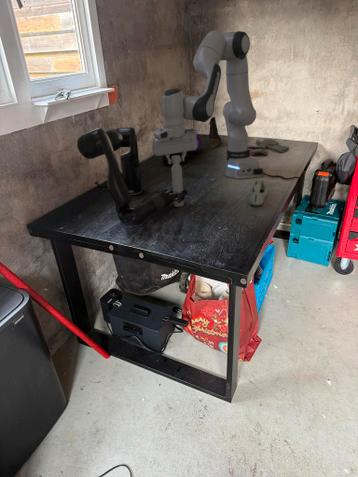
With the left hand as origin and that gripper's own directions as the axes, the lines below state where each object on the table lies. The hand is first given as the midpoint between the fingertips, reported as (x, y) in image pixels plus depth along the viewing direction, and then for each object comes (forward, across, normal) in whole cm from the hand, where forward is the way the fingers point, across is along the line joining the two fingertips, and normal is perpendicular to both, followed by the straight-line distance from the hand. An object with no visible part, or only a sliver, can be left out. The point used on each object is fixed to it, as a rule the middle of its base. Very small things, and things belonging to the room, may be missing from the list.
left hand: (181, 190), depth 156 cm
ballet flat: (+24, -28, +6) cm, 38 cm away
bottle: (-3, 0, +6) cm, 7 cm away
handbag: (+50, +43, +6) cm, 66 cm away
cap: (-3, 0, -17) cm, 17 cm away
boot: (+99, +44, +6) cm, 109 cm away
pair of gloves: (+100, +6, +6) cm, 100 cm away
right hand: (-3, 0, -14) cm, 15 cm away
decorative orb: (+72, +48, +6) cm, 86 cm away
